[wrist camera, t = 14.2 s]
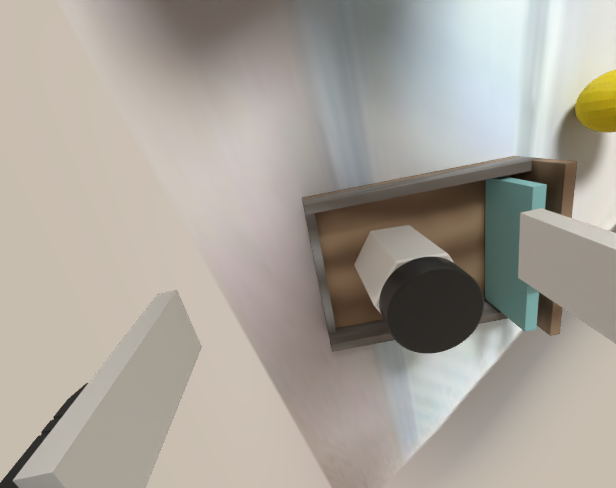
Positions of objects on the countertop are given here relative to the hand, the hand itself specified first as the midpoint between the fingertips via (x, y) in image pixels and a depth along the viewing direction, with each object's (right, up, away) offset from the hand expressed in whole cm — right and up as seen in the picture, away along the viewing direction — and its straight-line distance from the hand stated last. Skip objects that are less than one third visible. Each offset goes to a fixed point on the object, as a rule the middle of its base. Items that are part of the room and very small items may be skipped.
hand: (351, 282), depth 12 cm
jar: (+8, 0, +25) cm, 26 cm away
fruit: (+27, +16, +21) cm, 38 cm away
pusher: (+20, +2, +24) cm, 32 cm away
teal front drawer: (+11, +1, +26) cm, 28 cm away
